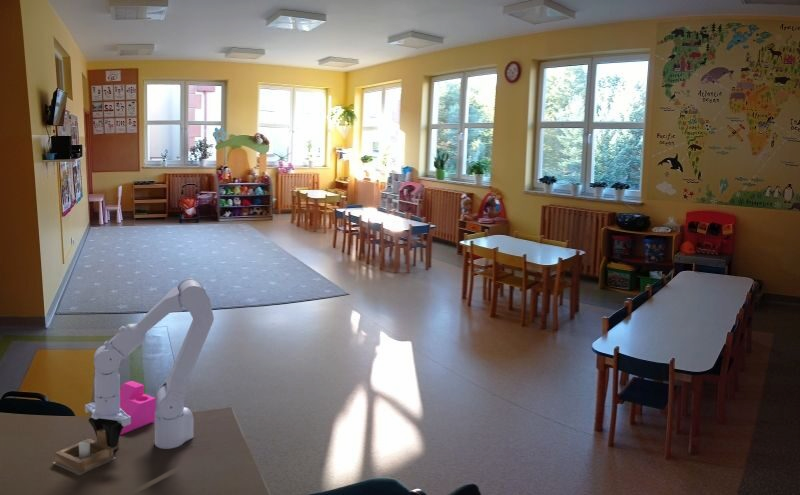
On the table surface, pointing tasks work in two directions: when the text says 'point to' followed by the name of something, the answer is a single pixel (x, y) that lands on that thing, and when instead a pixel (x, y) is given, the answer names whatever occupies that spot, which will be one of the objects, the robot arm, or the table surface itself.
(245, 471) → the table surface
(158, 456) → the table surface
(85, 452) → the peg stand
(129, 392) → the bracket
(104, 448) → the walnut link
